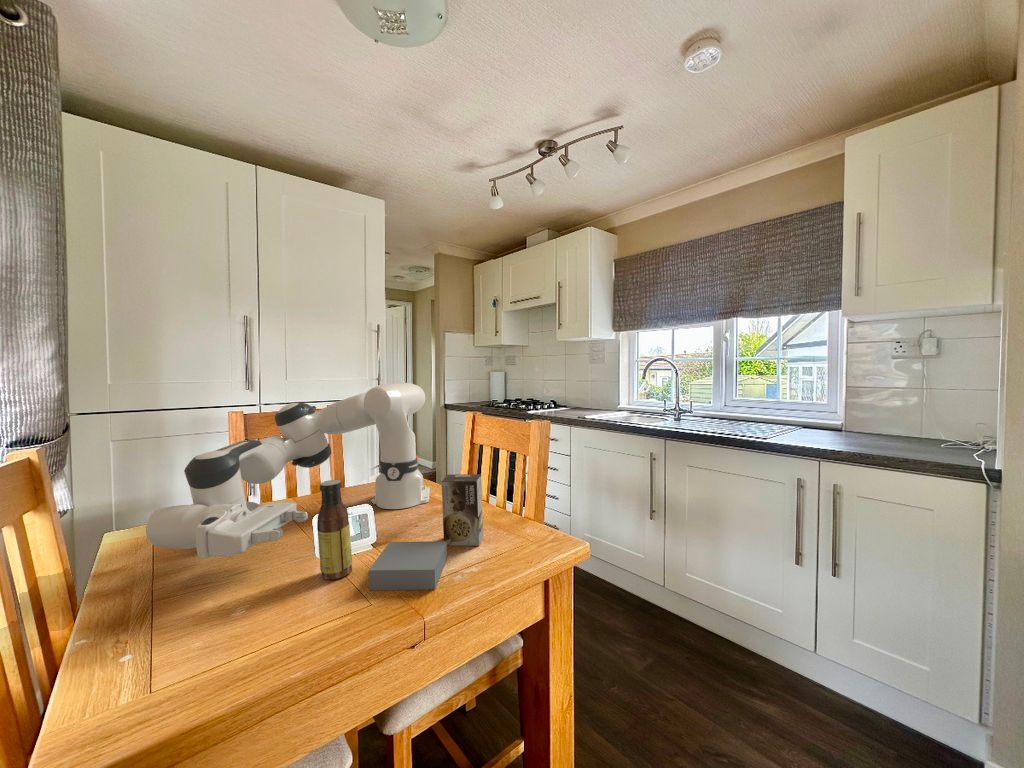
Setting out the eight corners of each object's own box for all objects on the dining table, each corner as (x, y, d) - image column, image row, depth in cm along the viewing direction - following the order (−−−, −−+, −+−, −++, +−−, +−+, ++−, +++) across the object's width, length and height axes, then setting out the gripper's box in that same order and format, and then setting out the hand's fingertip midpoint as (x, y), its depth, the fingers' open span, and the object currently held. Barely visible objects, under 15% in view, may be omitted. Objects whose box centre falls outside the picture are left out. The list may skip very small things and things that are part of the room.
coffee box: (483, 535, 104) (482, 473, 103) (479, 546, 97) (477, 480, 97) (449, 535, 105) (447, 473, 104) (442, 545, 98) (440, 480, 98)
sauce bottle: (345, 563, 90) (342, 475, 89) (357, 573, 85) (354, 481, 85) (314, 574, 85) (311, 482, 85) (325, 585, 81) (321, 487, 80)
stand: (390, 559, 92) (389, 541, 92) (447, 558, 91) (446, 541, 91) (369, 590, 79) (368, 570, 79) (435, 589, 78) (434, 569, 78)
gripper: (261, 521, 95) (319, 521, 95) (191, 563, 75) (264, 562, 75) (260, 495, 95) (318, 494, 95) (189, 530, 75) (263, 529, 75)
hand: (294, 525), depth 85 cm, fingers open, 8 cm apart
